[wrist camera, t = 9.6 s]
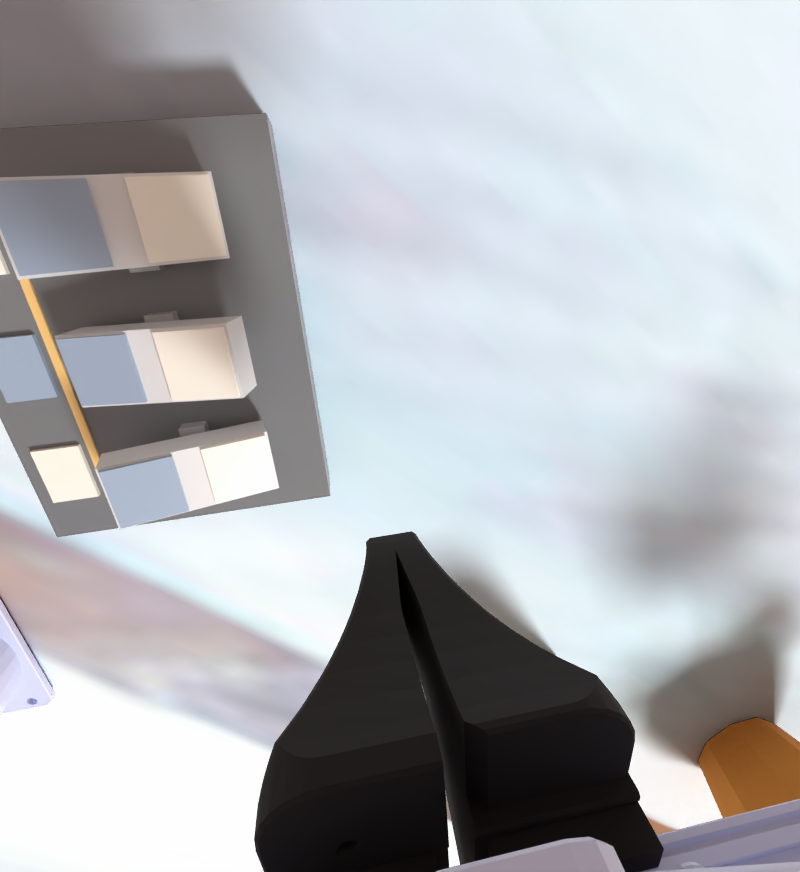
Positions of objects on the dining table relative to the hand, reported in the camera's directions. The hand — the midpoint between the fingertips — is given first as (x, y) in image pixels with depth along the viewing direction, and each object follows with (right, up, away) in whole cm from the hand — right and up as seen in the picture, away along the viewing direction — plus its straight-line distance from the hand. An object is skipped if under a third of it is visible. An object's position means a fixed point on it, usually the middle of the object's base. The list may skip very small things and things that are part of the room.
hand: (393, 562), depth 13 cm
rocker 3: (-8, +2, +5) cm, 10 cm away
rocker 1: (-9, +10, +1) cm, 14 cm away
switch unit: (-10, +8, +6) cm, 14 cm away
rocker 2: (-8, +6, +3) cm, 11 cm away
